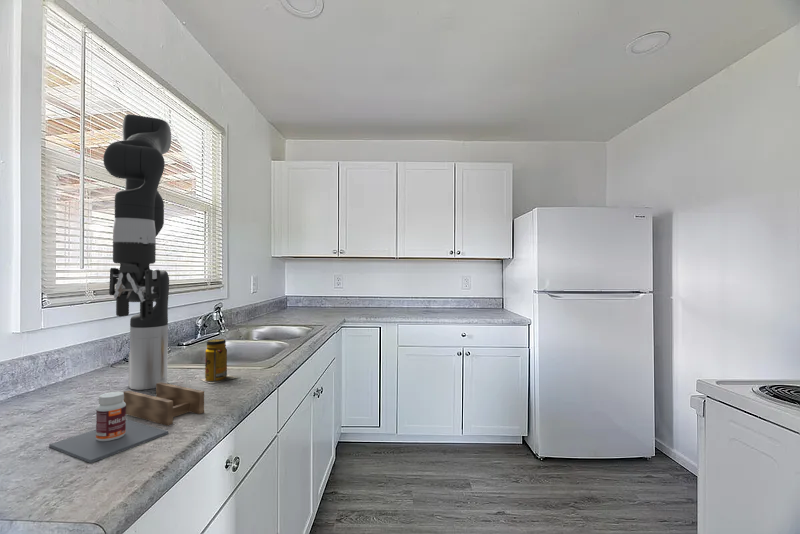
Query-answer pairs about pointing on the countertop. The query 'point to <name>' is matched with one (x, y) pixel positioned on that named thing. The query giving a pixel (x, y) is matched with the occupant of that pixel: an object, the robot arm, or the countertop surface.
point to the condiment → (216, 362)
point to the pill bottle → (110, 416)
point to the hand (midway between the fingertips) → (134, 317)
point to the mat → (107, 442)
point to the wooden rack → (164, 403)
